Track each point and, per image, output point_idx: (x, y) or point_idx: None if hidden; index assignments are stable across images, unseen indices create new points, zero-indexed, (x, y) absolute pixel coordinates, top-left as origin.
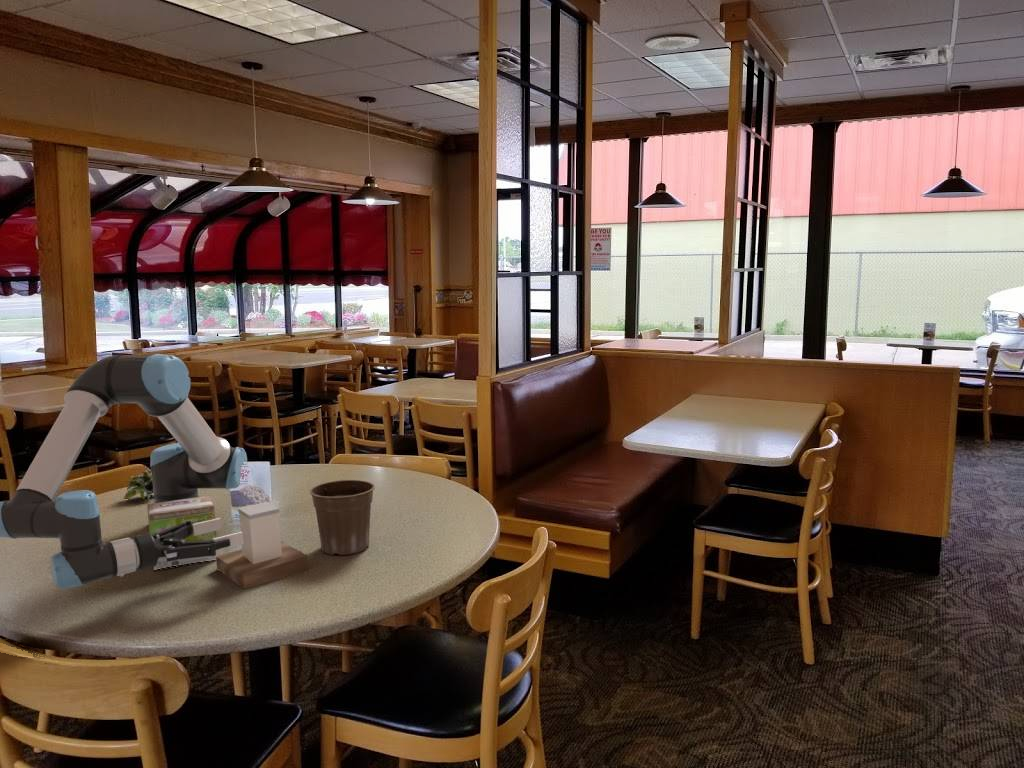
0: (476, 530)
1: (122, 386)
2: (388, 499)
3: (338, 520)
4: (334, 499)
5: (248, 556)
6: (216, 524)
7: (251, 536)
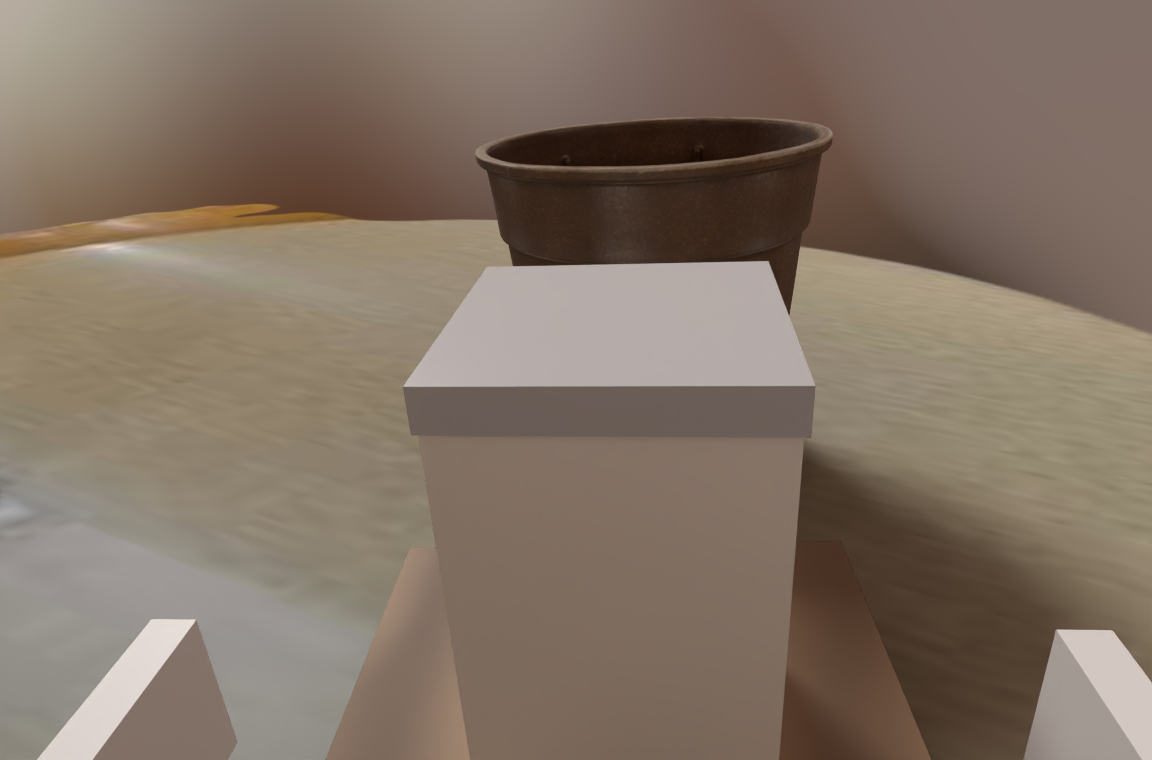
0: (806, 261)
1: None
2: (348, 284)
3: None
4: (792, 165)
5: None
6: (178, 736)
7: (786, 618)
